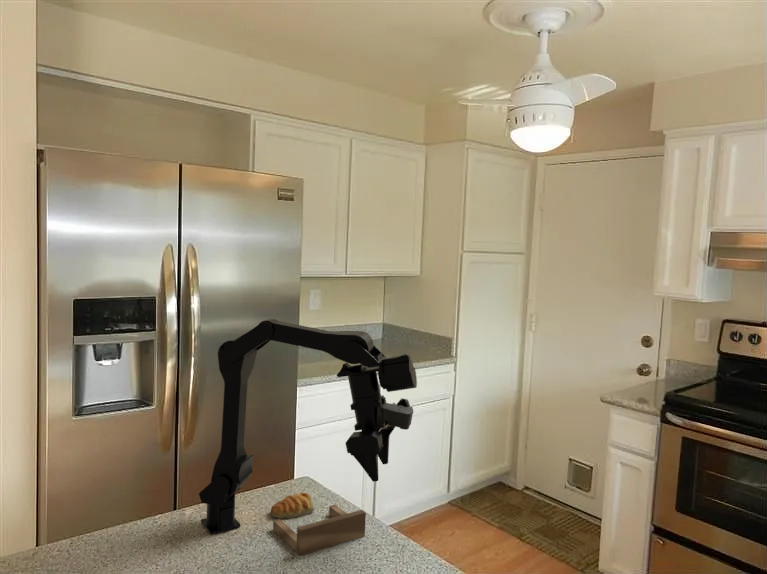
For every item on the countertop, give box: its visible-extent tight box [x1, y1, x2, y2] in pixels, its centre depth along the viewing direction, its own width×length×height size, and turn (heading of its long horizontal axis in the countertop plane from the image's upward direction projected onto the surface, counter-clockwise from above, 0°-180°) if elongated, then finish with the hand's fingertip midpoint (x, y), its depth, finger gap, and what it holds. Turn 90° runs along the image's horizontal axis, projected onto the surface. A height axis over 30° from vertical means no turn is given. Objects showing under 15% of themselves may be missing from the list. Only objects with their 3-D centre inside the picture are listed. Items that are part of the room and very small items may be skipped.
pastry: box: [269, 491, 315, 520], centre depth 130 cm, size 9×7×4 cm
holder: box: [272, 504, 367, 556], centre depth 121 cm, size 12×15×5 cm
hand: (380, 472), depth 116 cm, fingers open, 9 cm apart
